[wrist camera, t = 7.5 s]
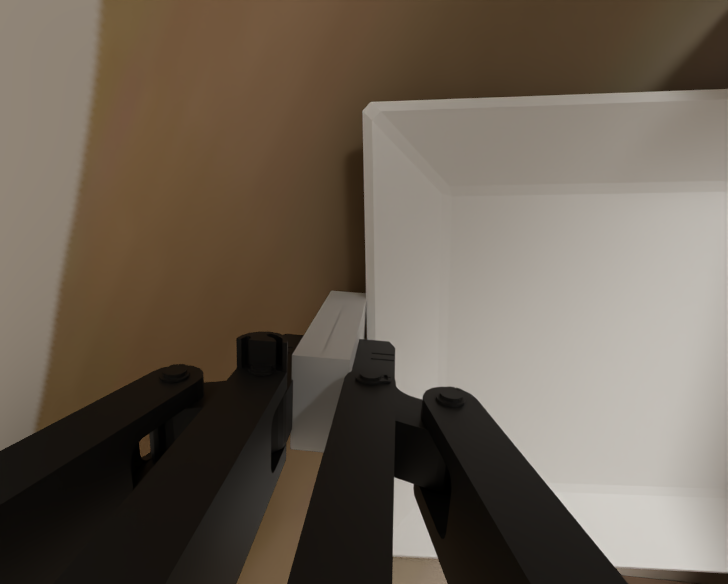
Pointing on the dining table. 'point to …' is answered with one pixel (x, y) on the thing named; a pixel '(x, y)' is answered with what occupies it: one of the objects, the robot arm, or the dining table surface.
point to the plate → (566, 299)
